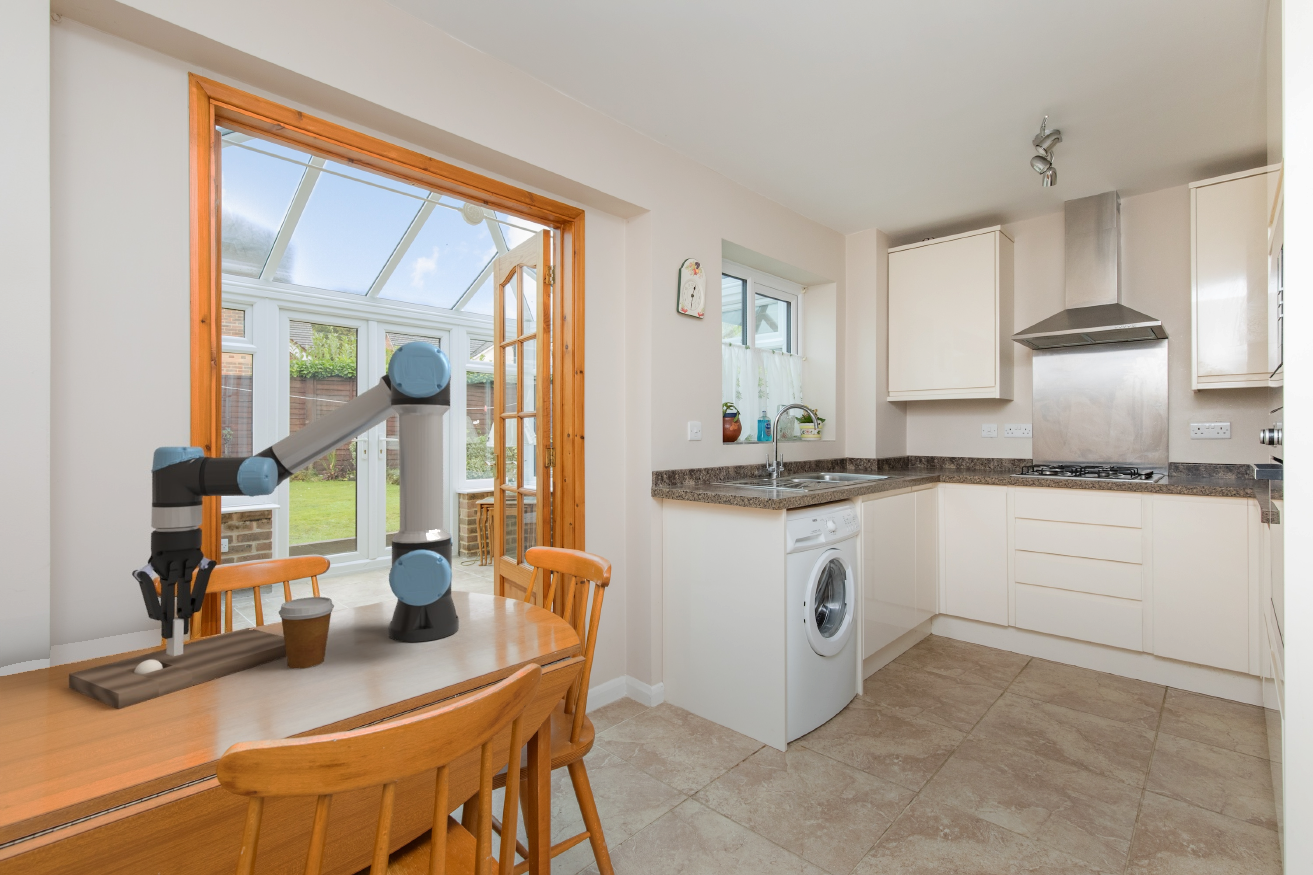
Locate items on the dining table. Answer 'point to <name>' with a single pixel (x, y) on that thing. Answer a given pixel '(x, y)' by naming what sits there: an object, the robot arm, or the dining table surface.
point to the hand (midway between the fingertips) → (174, 653)
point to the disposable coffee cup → (306, 630)
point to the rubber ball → (148, 667)
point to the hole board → (178, 667)
